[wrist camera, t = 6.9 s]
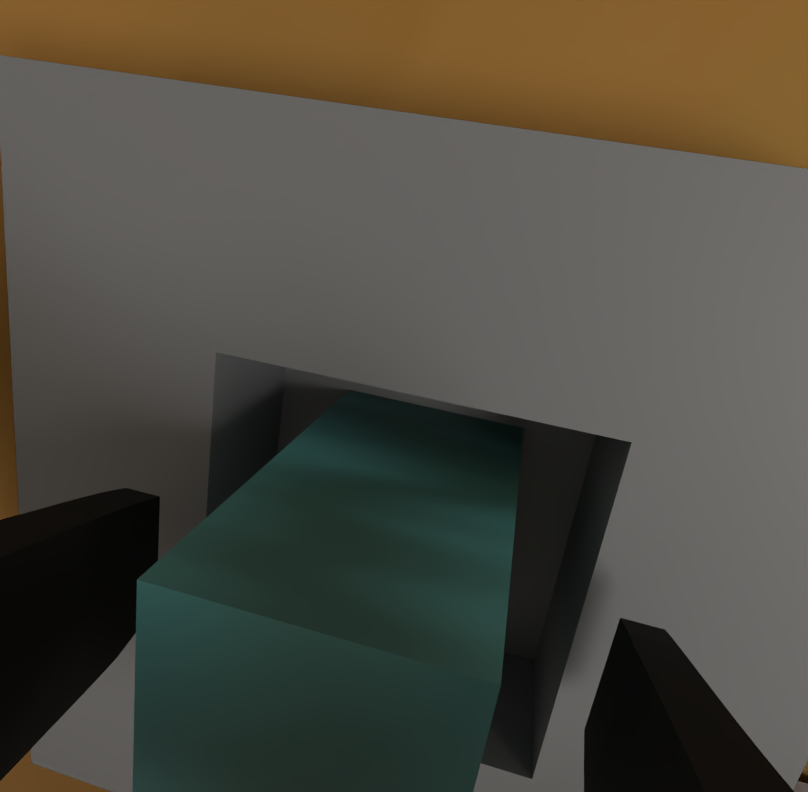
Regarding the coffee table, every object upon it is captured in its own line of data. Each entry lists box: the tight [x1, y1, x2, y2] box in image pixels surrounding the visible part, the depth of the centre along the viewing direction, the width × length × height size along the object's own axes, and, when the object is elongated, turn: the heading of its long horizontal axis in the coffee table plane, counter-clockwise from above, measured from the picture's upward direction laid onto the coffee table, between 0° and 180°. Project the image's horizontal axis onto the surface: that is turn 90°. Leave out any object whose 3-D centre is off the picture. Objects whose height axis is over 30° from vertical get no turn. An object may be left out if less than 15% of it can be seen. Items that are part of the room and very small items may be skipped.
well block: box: [0, 55, 808, 792], centre depth 12 cm, size 14×14×4 cm
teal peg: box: [133, 390, 524, 792], centre depth 9 cm, size 4×4×7 cm
